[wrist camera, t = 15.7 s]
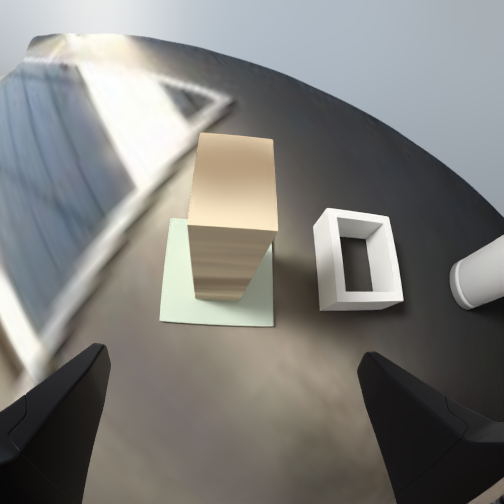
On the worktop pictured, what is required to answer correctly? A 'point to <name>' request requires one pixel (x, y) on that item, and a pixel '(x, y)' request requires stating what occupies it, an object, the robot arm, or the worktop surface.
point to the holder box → (379, 255)
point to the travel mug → (479, 276)
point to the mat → (203, 310)
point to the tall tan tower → (230, 213)
